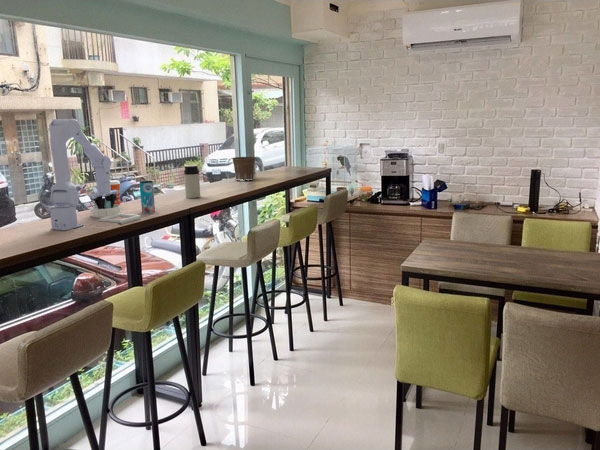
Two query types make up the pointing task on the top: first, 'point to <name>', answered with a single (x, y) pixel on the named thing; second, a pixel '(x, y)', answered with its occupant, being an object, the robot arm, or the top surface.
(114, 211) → the bowl
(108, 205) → the peg
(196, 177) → the travel mug
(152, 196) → the beverage can
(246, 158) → the plant pot
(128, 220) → the tray
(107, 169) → the robot arm
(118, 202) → the paper cup
